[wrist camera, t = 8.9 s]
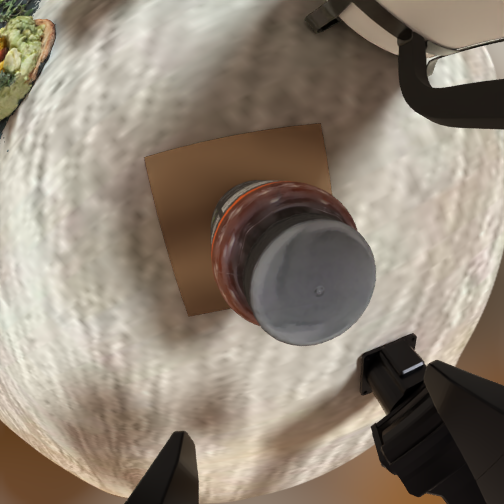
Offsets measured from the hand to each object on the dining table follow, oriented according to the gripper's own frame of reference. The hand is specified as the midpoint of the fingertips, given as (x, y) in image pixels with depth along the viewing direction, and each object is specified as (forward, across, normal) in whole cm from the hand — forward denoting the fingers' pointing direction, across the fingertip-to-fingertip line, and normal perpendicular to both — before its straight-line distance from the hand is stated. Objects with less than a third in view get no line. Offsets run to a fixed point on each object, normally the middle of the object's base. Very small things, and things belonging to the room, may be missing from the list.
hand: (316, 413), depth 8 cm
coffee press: (+13, -13, -19) cm, 27 cm away
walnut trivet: (+14, 0, -4) cm, 14 cm away
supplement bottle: (+13, 0, -4) cm, 13 cm away
